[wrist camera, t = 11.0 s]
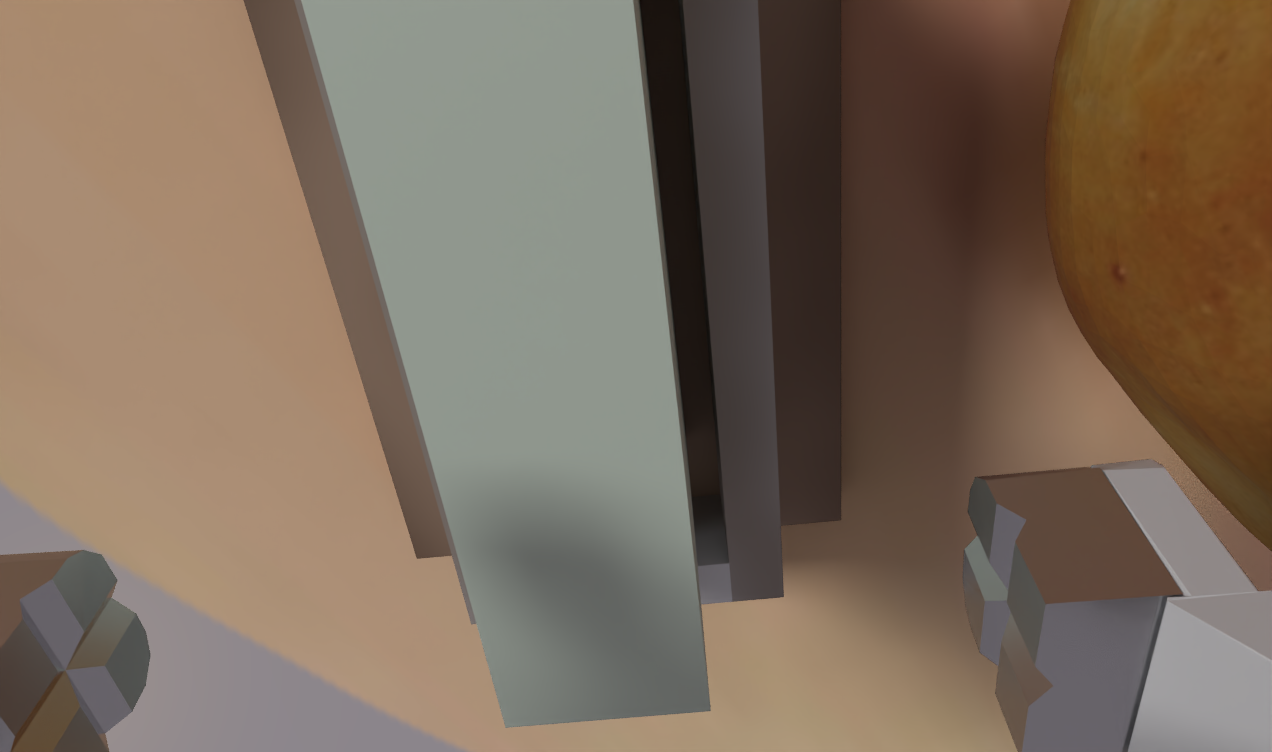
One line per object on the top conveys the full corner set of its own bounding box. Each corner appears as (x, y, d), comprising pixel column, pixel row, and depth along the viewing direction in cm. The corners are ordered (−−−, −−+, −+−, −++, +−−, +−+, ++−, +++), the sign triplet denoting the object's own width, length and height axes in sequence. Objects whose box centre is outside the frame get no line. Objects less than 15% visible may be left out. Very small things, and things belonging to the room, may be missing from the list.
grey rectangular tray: (827, -517, 15) (878, -596, 12) (833, 495, 25) (861, 590, 22) (140, -415, 15) (21, -465, 12) (423, 533, 26) (397, 630, 23)
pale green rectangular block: (612, -259, 16) (601, -299, 9) (685, 436, 23) (710, 710, 16) (402, -231, 16) (230, -248, 9) (542, 451, 23) (505, 727, 16)
